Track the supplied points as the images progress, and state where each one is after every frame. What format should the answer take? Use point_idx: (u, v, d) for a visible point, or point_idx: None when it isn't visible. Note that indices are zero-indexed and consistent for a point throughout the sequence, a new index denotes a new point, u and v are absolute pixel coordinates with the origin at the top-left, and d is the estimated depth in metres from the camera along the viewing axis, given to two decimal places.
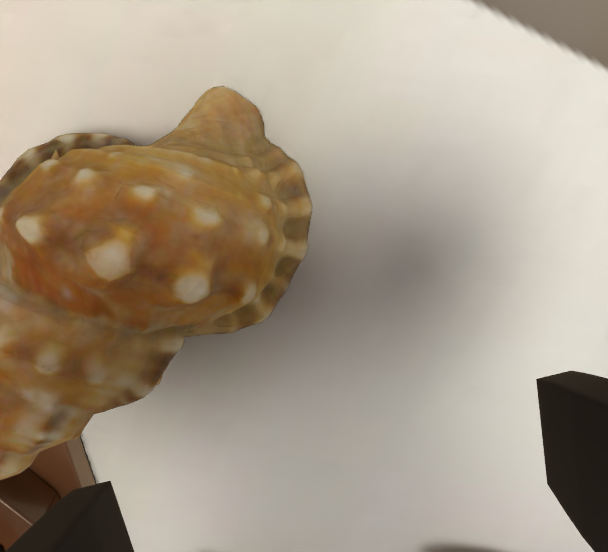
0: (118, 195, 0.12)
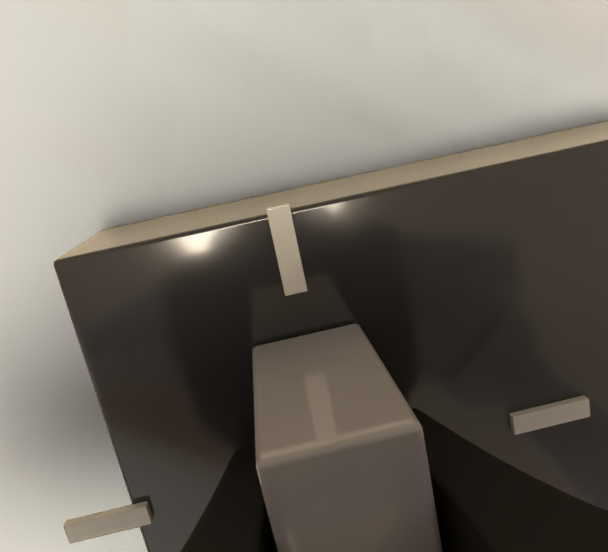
0: None
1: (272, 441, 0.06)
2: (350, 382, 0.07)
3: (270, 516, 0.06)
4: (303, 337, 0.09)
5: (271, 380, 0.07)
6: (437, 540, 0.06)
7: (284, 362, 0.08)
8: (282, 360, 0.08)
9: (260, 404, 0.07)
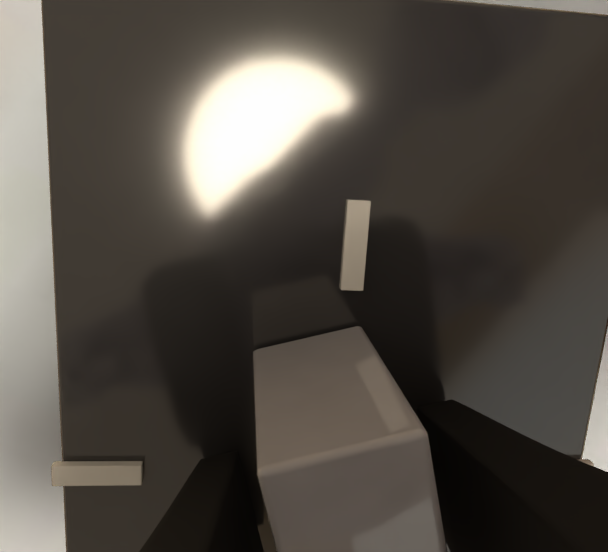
0: None
1: (274, 448, 0.06)
2: (353, 386, 0.07)
3: (272, 525, 0.06)
4: (305, 340, 0.09)
5: (273, 385, 0.07)
6: (443, 549, 0.06)
7: (286, 366, 0.08)
8: (284, 364, 0.08)
9: (261, 409, 0.07)
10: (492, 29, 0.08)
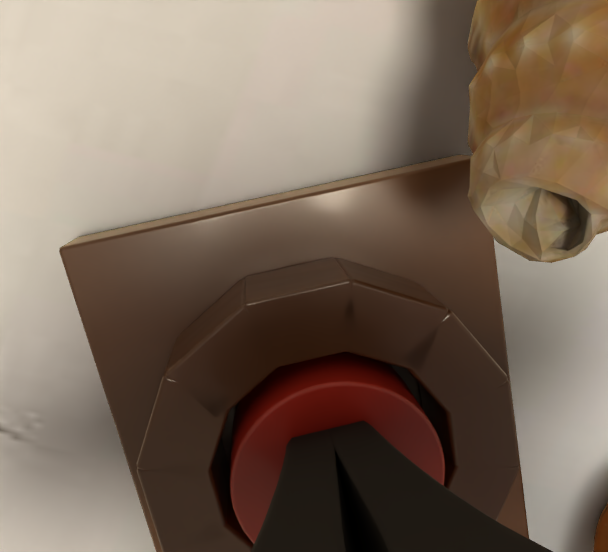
0: None
1: None
2: None
3: None
4: None
5: None
6: None
7: None
8: None
9: None
10: None
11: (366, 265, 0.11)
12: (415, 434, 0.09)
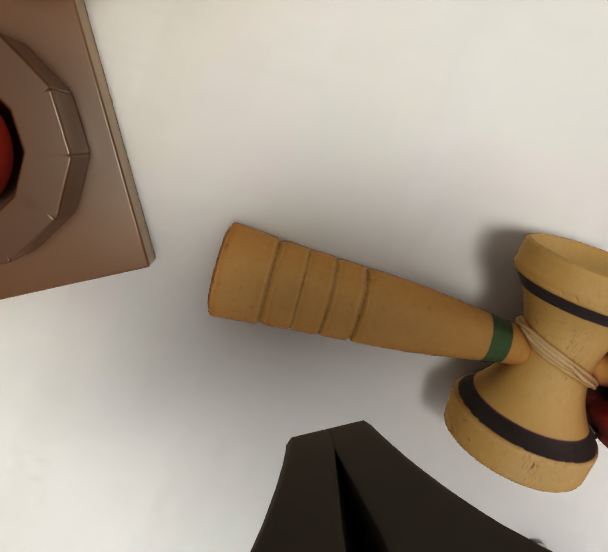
0: None
1: None
2: None
3: None
4: None
5: None
6: None
7: None
8: None
9: None
10: None
11: None
12: None
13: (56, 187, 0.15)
